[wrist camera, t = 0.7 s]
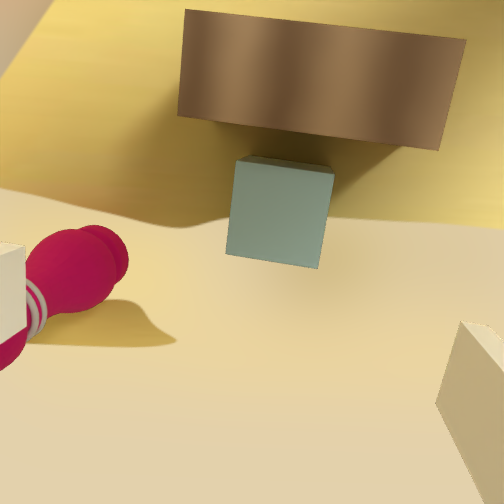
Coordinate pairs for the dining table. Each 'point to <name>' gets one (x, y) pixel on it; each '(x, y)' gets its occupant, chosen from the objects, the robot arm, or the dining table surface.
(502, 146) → the dining table surface
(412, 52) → the walnut box
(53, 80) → the dining table surface
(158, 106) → the dining table surface
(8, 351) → the pepper mill
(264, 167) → the letter cube
